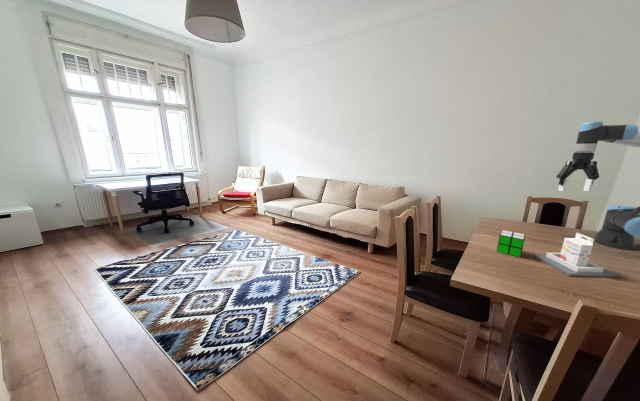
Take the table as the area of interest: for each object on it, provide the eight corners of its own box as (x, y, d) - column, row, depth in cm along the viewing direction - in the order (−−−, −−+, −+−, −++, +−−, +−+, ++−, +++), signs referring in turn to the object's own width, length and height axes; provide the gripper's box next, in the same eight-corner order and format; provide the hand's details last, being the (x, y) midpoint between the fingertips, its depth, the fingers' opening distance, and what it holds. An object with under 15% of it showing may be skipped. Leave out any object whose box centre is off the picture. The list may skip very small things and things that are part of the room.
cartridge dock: (573, 257, 117) (575, 251, 116) (616, 277, 100) (618, 270, 99) (533, 256, 118) (535, 251, 117) (569, 276, 101) (570, 269, 100)
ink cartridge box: (557, 259, 113) (565, 231, 110) (568, 259, 113) (576, 232, 109) (575, 268, 105) (583, 238, 101) (586, 268, 104) (595, 239, 101)
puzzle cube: (521, 251, 125) (525, 234, 122) (520, 257, 117) (524, 239, 115) (498, 246, 131) (501, 229, 129) (496, 251, 124) (499, 234, 122)
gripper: (600, 151, 125) (589, 189, 130) (553, 151, 126) (544, 189, 131) (617, 152, 118) (605, 192, 123) (566, 152, 119) (557, 191, 124)
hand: (573, 190), depth 127 cm, fingers open, 13 cm apart
